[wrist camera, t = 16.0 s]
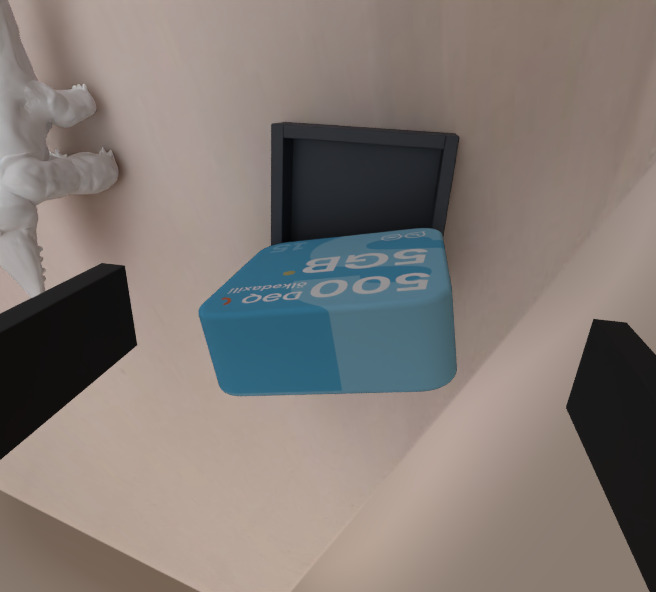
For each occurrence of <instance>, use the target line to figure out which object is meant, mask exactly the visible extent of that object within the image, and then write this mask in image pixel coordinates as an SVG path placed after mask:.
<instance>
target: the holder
mask: <svg viewBox="0 0 656 592" xmlns="http://www.w3.org/2000/svg"><path fill="white" fill-rule="evenodd" d="M458 143H459V136H458V135H456V134H455V133H441V132H426V131H411V130H396V129H381V128H366V127H351V126H337V125H322V124H307V123H292V122H281V123H273V124H271V246H272V245H276V244H281V243H287V242H296V241H306V240H315V239H324V238H333V237H342V236H352V235H361V234H370V233H379V232H388V231H398V230H407V229H416V228H430V229H436V230H438V231H440V232H441V233H442V235H444V229H445V223H446V217H447V211H448V205H449V198H450V192H451V186H452V180H453V174H454V168H455V162H456V155H457V149H458Z"/></svg>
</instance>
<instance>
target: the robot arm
mask: <svg viewBox="0 0 656 592" xmlns="http://www.w3.org/2000/svg"><path fill="white" fill-rule="evenodd" d="M135 346H137V341H136V335H135V328H134V322H133V315H132V309H131V303H130V296H129V290H128V283H127V277H126V270H125V266H123V265H114V264H105V263H101V264H99V265H97V266H95V267H93V268H91V269H89V270H87V271H85V272H83V273H81V274H79V275H77V276H75V277H73V278H71V279H69V280H67V281H65V282H63V283H61V284H59V285H57V286H55V287H53V288H51V289H49V290H47V291H45V292H43V293H41V294H39V295H37V296H35V297H33V298H31V299H29V300H27V301H25V302H23V303H21V304H19V305H17V306H15V307H13V308H11V309H9V310H7V311H5V312H3V313H1V314H0V460H1V459H2V458H3V457H4V456H5V455H7V454H8V453H9V452H10V451H11V450H13V449H14V448H15V447H16V446H17V445H19V444H20V443H21V442H22V441H23V440H25V439H26V438H27V437H28V436H29V435H31V434H32V433H33V432H34V431H35V430H36V429H38V428H39V427H40V426H41V425H42V424H44V423H45V422H46V421H47V420H48V419H50V418H51V417H52V416H53V415H54V414H56V413H57V412H58V411H59V410H60V409H62V408H63V407H64V406H65V405H66V404H67V403H69V402H70V401H71V400H72V399H73V398H75V397H76V396H77V395H78V394H79V393H81V392H82V391H83V390H84V389H85V388H87V387H88V386H89V385H90V384H91V383H93V382H94V381H95V380H96V379H97V378H98V377H100V376H101V375H102V374H103V373H104V372H106V371H107V370H108V369H109V368H110V367H112V366H113V365H114V364H115V363H116V362H118V361H119V360H120V359H121V358H122V357H124V356H125V355H126V354H127V353H128V352H129V351H131V350H132V349H133V348H134V347H135ZM566 409H567V411H568V413H569V415H570V417H571V420H572V422H573V424H574V426H575V429H576V431H577V433H578V435H579V437H580V440H581V442H582V444H583V446H584V448H585V451H586V453H587V455H588V457H589V459H590V461H591V464H592V466H593V468H594V470H595V473H596V475H597V477H598V479H599V481H600V484H601V486H602V488H603V490H604V492H605V495H606V497H607V499H608V501H609V503H610V506H611V507H612V510H613V512H614V514H615V516H616V519H617V521H618V523H619V525H620V528H621V530H622V532H623V534H624V536H625V539H626V540H627V543H628V545H629V547H630V550H631V552H632V554H633V556H634V558H635V560H636V563H637V565H638V567H639V569H640V572H641V574H642V576H643V578H644V580H645V582H646V585H647V587H648V589H649V591H650V592H656V355H655V354H654V353H653V352H652V350H651V349H649V347H648V346H647V345H646V344H645V343H644V342H643V340H642V339H641V338H640V337H639V336H638V335H637V334H636V333H635V332H634V330H633V329H632V328H631V327H630V326H629V325H628V324H627V323H624V322H615V321H606V320H598V319H593V322H592V326H591V329H590V332H589V335H588V338H587V342H586V345H585V348H584V351H583V354H582V358H581V361H580V364H579V367H578V371H577V374H576V377H575V380H574V383H573V387H572V390H571V393H570V397H569V400H568V403H567V406H566Z"/></svg>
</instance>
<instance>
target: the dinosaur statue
mask: <svg viewBox="0 0 656 592" xmlns="http://www.w3.org/2000/svg"><path fill="white" fill-rule="evenodd" d="M95 112H96V103H95V101H94V99H93V97H92V96H91V95H90V94H89V92H88V89H87V86H86V84H83V85H82V87H81V85H80V84H78V85H76V86H75V85H73V86H72V89H70V90H54V89H53V88H51V87H50V86H48V85H46V84H44V83H42V82H40V81H38V79H37V77H36V75H35V73H34V70H33V67H32V65H31V63H30V61H29V58H28V56H27V54H26V51H25V49H24V47H23V44H22V42H21V39H20V34H19V28H18V25H17V23H16V20H15V17H14V15H13V12H12V9H11V7H10V4H9V2H8V0H0V266H1V267H2V268H3V269H4V270H5V271H6V272H7V273H8V274H9V275H10V276H11V277H12V278H13V279H14V280H15V281H16V282H17V283H18V284H19V285H20V286H21V287H22V288H23V290H24V291H25V292H26V293H27V294H28V295H29V296H30V298H33V297H35V296H37V295H39V294H41V293H43V292H45V287H44V282H45V280H46V278H45V276H43V273H44V272H46V269H45V268H42V265H41V262H42V260H43V257H41V256H40V252H41V251H42V250H43V248H42V247H40V246H38V244H37V233H36V228H37V222H38V213H37V207H36V205H38V204H40V203H42V202H44V201H46V200H51V199H56V198H61V197H64V196H67V195H70V194H74V195H82V194H96V193H99V192H102V191H105V190H107V189H108V188H110V187H111V186H112V185H114V184H115V182H116V181H117V178H118V173H119V170H118V166H117V164H116V161H115V158H114V155H113V152H112V151H111V150H109V152H107V153H106V151H105V149H104V148H103V147H102V148H101V151H100V153H99V154H98V153H97V154H94V153H91V152H80V153H76V154H72V155H70V156H68V154H66V155H62V154H61V153H60V152H59V150H58V149H57V148H56V149H55V154H53V153H52V152H51V151H49V150H48V147H47V145H46V136H47V134H48V132H49V129H50V128H51V127H52V124H54V125H56V126H59V127H63V128H68V127H72V126H74V125H75V124H77V123H79V122H81V121H83V120H85V119H86V118H88V117H90V116H91V115H93V114H94V113H95Z"/></svg>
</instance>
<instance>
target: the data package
mask: <svg viewBox="0 0 656 592" xmlns="http://www.w3.org/2000/svg"><path fill="white" fill-rule="evenodd" d="M199 317H200V321H201V324H202V328H203V331H204V335H205V338H206V342H207V345H208V348H209V352H210V355H211V359H212V362H213V366H214V369H215V373H216V376H217V380H218V383H219V386H220V388H221V389H222V390H223V391H224V392H225V393H227V394H229V395H233V396H266V395H305V394H344V393H383V392H421V391H430V390H434V389H438V388H440V387H442V386H444V385H446V384H448V383H449V382H450V381H451V380H452V379H453V378H454V376H455V374H456V371H457V364H456V348H455V331H454V315H453V299H452V287H451V281H450V275H449V269H448V264H447V258H446V252H445V247H444V241H443V235H442V233H441V232H440V231H438V230H436V229H430V228H416V229H407V230H398V231H388V232H379V233H370V234H361V235H352V236H342V237H333V238H324V239H315V240H306V241H296V242H287V243H281V244H276V245H272V246H269V247H267V248H264V249H263V250H261V251H260V252H259V253H258V254H256V255H255V256H254V257H253V258H252V259H251V260H250V261H249V262H248V263H247V264H246V265H244V266H243V267H242V268H241V269H240V270H239V271H238V272H237V273H236V274H235V275H234V276H233V277H231V278H230V279H229V280H228V281H227V282H226V283H225V284H224V285H223V286H222V287H221V288H219V289H218V290H217V291H216V292H215V293H214V294H213V295H212V296H211V297H210V298H209V299H207V300H206V301H205V302H204V303H203V304H202V305H201V307H200V308H199Z"/></svg>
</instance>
